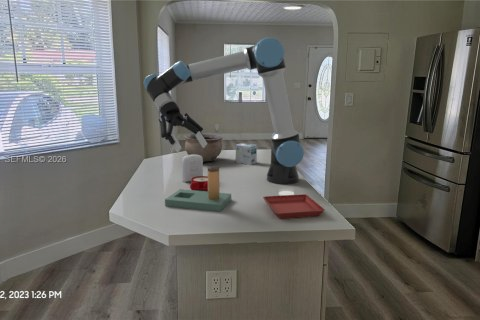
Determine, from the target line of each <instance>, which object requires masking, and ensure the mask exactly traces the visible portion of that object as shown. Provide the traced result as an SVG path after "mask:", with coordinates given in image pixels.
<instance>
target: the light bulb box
mask: <svg viewBox="0 0 480 320" xmlns="http://www.w3.org/2000/svg"><path fill="white" fill-rule="evenodd" d="M257 149H258V146H257V144H251V143H243V142H242V143H238V144H235V164H241V163H243V165H248V164H249V165H250V166H251V165H255V164H257V159H258V158H257V156H258V154H257V152H258V151H257Z"/></svg>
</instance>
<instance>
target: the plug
mask: <svg viewBox="0 0 480 320" xmlns="http://www.w3.org/2000/svg"><path fill="white" fill-rule="evenodd" d="M207 176H208V191H207V192H208V199H211V200H216V199H219V193H220V166H218V165H217V166H216V165H215V166H214V165H213V166H212V165H211V166H208V167H207Z"/></svg>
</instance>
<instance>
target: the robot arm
mask: <svg viewBox="0 0 480 320" xmlns="http://www.w3.org/2000/svg"><path fill="white" fill-rule="evenodd" d="M284 57H285V48H284V45H283V44H282V42H281V41H280V40H279V39H277V38H275V37H270V36H269V37H264V38H262V39H260V40H259V41H257V43H256V44H254V45H252V46H249V47H245V48H244V50H242V51H239V52H234V53H230V54H225V55H222V56H217V57H214V58H209V59H205V60H201V61H197V62H193V63H189V64H185V62H184V61H182V60H179V61H177V62H175V63H173V64H172V65H171V66H170V67H169V68H168V69H167V70H165V71H163V72H162V73H161V74H157V73H152V74H149V75H147V76H146V77H145V78H144V79H143V86H144V88H145V90H146V93H148V95H149V97H150V99H151V100H152V101H153V104H154V105H155V106H156V108H157V110H158V112H159V113H160V117H159V118H158V121H159V123H160V135H161V136H160V137H161V138H162V139H165V141H168V142H169V143H170V145H172V147H173V148H174V150H175V151H176V153H179V152H180V151H181V150H182V146H181V143H179V141H178V139H177V138H176V136H175V134H172V133H173V129H174V127H182V128H185V129H187V130H188V131H190V132H192V134H196V135H195V136H196V138H197V139H198V141H199V143H200V144H201V146H202V147H203V148H204V147H205V146H206V145H207V142H206V141H205V139H204V136H203V135H202V133H203V130H204V128H203V127H202V126H201V125H200V124H199V123H197V122H196V121H195V120H194V119H193V118H192V117H191V116H189V114H188V113H187V112H186V113H185V114H182V113H181V112H180V108H179V106H178V104H177V103H176V101H175V99H174V98H173V96H172V95H171V93H170V92H171V91H172V90H173V89H174V88H176V87H178V86H179V85H184V84H186V83H191V82H195V81H199V80H203V79H204V80H205V79H207V78H208V79H209V78H211V77H215V76H221V75H225V74H228V73H233V72H237V71H242V70H245V69H248V70H255V69H256V70H257V71H256V72H257V74H258V76H260V77H261V79H263V80H262V81H263V85H264V89H265V96H266V100H267V106H268V109H269V114H270V119H271V123H272V128H273V133H272V134H271V139H270V140H271V141H270V142H271V147H270V148H271V149H270V165H269V168H268V171H267V174H266V180H267V182H270V183H272V184H278V185H279V184H280V185H284V184H285V185H288V184H296V183H298V182H299V179H300V177H299V173H298V170H297V166H298V165H299V164H300V163H301V161H303V160H304V155H305V149H304V147H303V145H302V144H301V139H300V133H299V131H297V130H296V129H295V127H294V123H293V118H292V117H293V116H292V112H291V107H290V101H289V97H288V92H287V87H286V82H285V81H286V80H285V76H284V72H285V71H286V68H287V67H286V63H285V58H284ZM167 123H168V125H167Z"/></svg>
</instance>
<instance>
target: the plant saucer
mask: <svg viewBox="0 0 480 320" xmlns="http://www.w3.org/2000/svg"><path fill="white" fill-rule="evenodd" d="M262 198H263V200H264V202H265V204H267V206H268V207H269V209H271V210H272V212H273V213H274V214H275V215H276V216H277V217H278V219H292V218H293V219H294V218H295V219H296V218H306V217H308V218H310V217H318V216H320V215H321V214H323V213H324V212H325V211H326V209H325V208H324V207H323V206H321V205H320V204H319V203H318V202H317V201H315V200H314V199H313V198H312V197H310V196H309V195H308V194H305V193H304V194H301V193H300V194H286V195H285V194H283V195H270V196H269V195H267V196H263V197H262Z"/></svg>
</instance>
